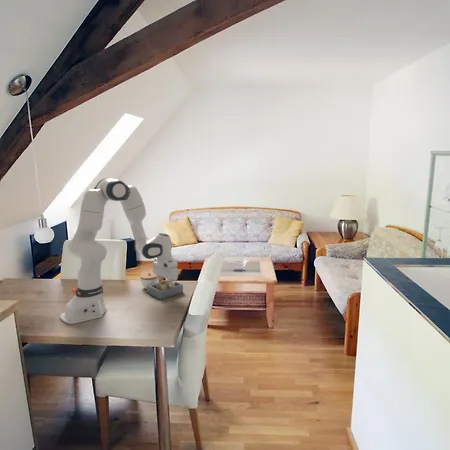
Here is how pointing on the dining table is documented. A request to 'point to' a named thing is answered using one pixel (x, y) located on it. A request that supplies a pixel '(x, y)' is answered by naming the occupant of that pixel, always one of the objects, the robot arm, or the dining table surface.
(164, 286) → the pine crate
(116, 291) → the dining table surface
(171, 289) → the grey crate
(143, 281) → the lidded jar
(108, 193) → the robot arm
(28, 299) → the dining table surface
